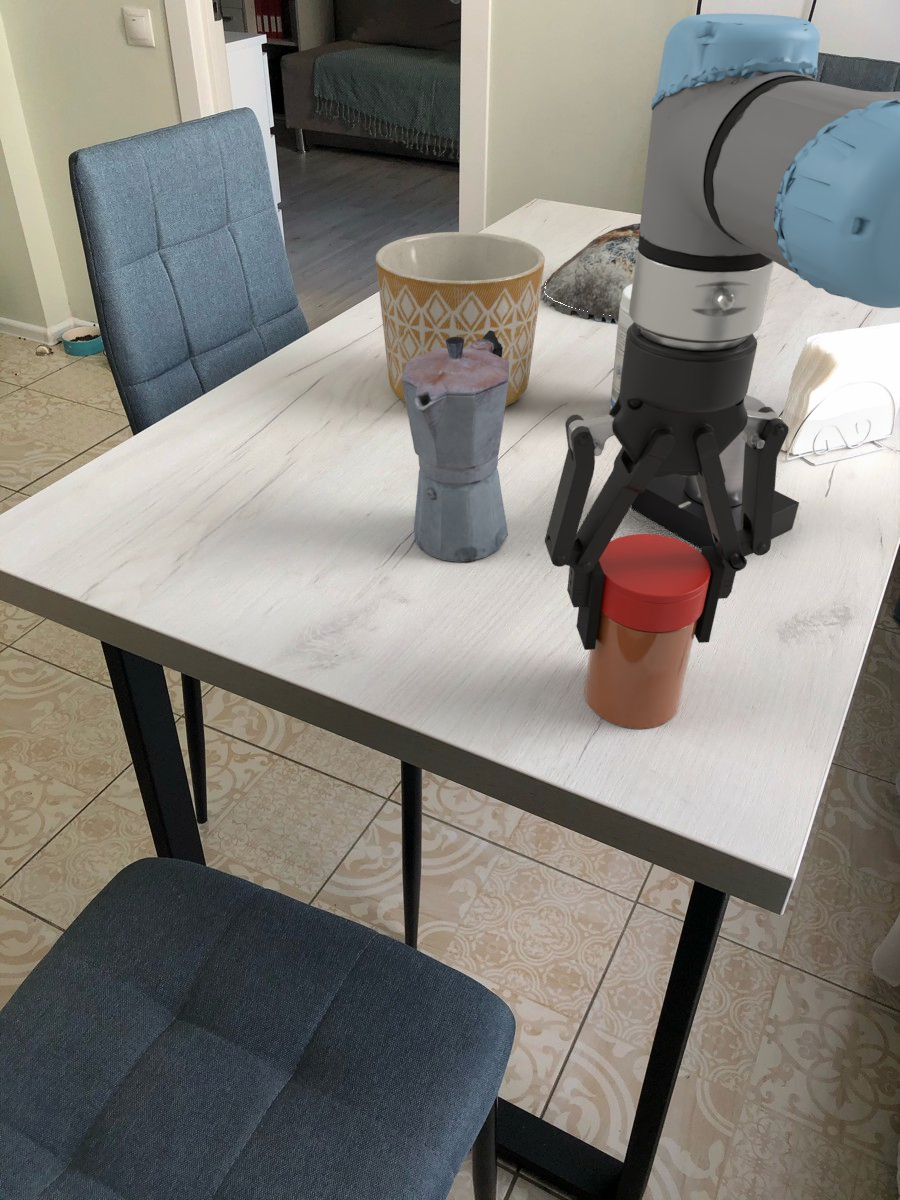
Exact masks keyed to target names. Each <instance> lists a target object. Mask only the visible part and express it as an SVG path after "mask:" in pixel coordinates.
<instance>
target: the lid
mask: <svg viewBox="0 0 900 1200" xmlns="http://www.w3.org/2000/svg"><path fill="white" fill-rule="evenodd" d="M599 562H600V564H601V567H602V569H603V571H604V574H605V576H604V584H603V592H602V599H601V607H600V610H601V611H602V612H603V613H604V614H605V615H606V616H608V617H609V618H610V619H612V620H614V621H615V622H617V623H619V624H622V625H624V626H627V627H630V628H633V629H637V630H642V631H650V632H666V631H673V630H678V629H681V628H684V627H686V626H689V625H690V624H692V623H694V622H695V621H696V620H697V619H698V618H699V617H700V615H701V613H702V611H703V607H704V603H705V598H706V593H707V588H708V584H709V579H710V574H711V569H710V565H709V563H708V561H707V559H706V558H705V556H704V555H703V554H702V553H701V551H700V550H698V549H697V547H696V548H695V546H693V545H692V544H691V545H690V544H689V543H687V542H685V541H683V540H680V539H677V538H674V537H670V536H667V535H662V534H654V533H633V534H627V535H622V536H619V537H617V538H613V539H611V540H610V542H609V544H608V545H607V547H606V549H605V551H604V552H603V554H602V556H601V557H600V559H599Z"/></svg>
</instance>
